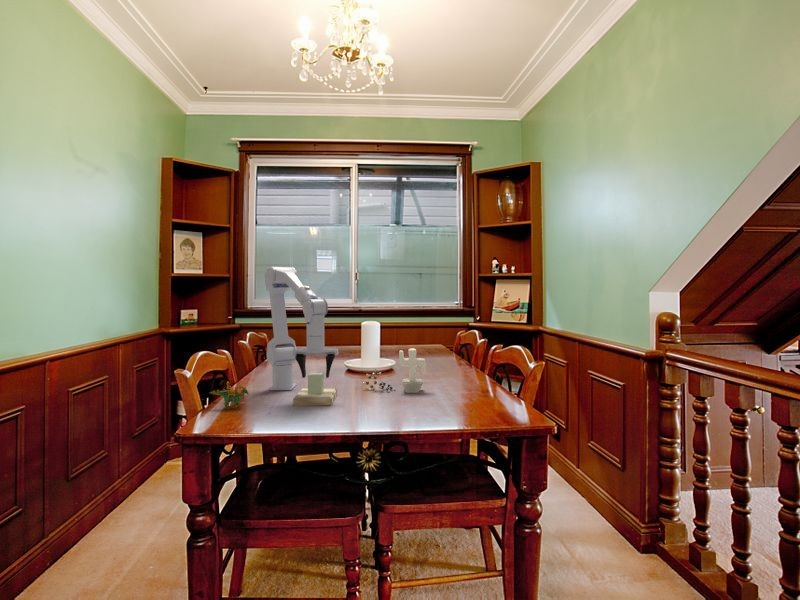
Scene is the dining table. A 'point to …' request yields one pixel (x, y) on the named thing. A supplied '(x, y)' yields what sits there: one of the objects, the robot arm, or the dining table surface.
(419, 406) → the dining table surface
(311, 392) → the sage block
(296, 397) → the birch base
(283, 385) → the robot arm
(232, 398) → the figurine
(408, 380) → the figurine
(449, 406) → the dining table surface
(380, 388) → the molecule model
